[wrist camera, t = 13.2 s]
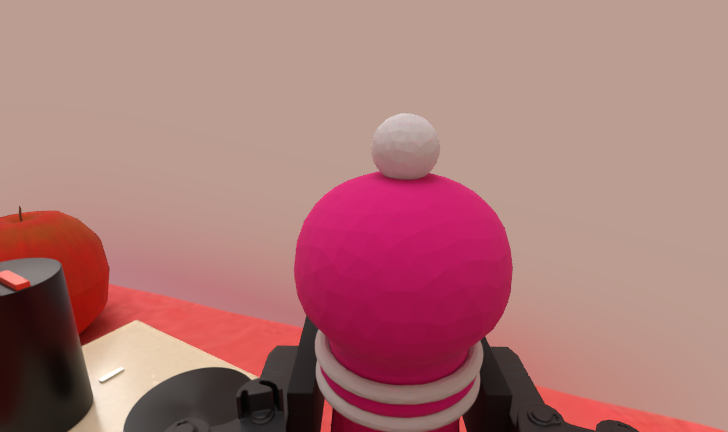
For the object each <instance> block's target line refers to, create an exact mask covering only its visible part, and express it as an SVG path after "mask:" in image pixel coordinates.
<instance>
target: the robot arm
mask: <svg viewBox="0 0 728 432" xmlns="http://www.w3.org/2000/svg"><path fill="white" fill-rule="evenodd" d="M318 330H319V329H318V328H317V327H316V326H315V325H314V324H313V323H312V321H311V320H310V319H309V318H308V316H306V320H305V324H304V328H303V331H302V335H301V339H300V343H299V346H276V347H275V348H274V349H273V350H272V351H271V352H270V353H269V355H268V357H267V360H266V363H265V366H264V368H263V371H262V374H261V377H260V378H257V379H253V380H250V381H249V382H247V383H245V384H244V385H243V386H242V387H241V388H240V389H239V390H238V392H237V395H236V402H237V411H238V418H237V419H235V420H233V421H231V422H228V423H225V424H221V425H217V426H213V427H210V426H209V424H208V422H207V421H205V420H204V419H203V418H198V417H190V418H184V419H182V420H180V421H177V422H175V423H174V424H172V425H171V426H169V427H168V428H167V429H166V430H165V431H164V432H320V430H321V422H322V415H323V407H324V400H325V397H324V396H323V394H322V392H321V391H320V389H319V386H318V382H317V379H316V363H317V357H316V353H315V339H316V335H317V332H318ZM480 341H481V344H482V348H483V362H482V365H481V368H480V371H479V373H480V387H479V392H478V395H477V398H476V400H475V401H474V403H473V404H472V406H471V407H470V408H469V410H468V411H467V412H466V413H464V414H463V415H462V416H463V420H464V423H465V427H466V430H467V432H639V431H638V430H636V429H634V428H633V427H631V426H630V425H627V424H625V423H622V422H619V421H614V420H605V421H601V422H600V423H599V424H597V427H596V431H594V430H590V429H586V428H582V427H578V426H574V425H572V424H569V423H566V422H565V421H564V419H563V417H562V416H561V415H560V414H559V413H558V412H557V411H556V410H555V409H553V408H552V407H550V406H548V405H546V404H545V403H544V401H543V400H542V398H541V396H540V394H539V393H538V391H537V389H536V387H535V385H534V384H533V382H532V380H531V378H530V376H528V373H527V371H526V369H525V368H524V367H523V364H522V362H521V361H520V359H519V357H518V355H516V354H515V353H514V352H513V351H512V350H510V349H509V348H508V347H490V346H489V344H488V342H487V340H486V338H485V337H483V338H482V339H481V340H480Z"/></svg>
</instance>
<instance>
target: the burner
mask: <svg viewBox="0 0 728 432" xmlns="http://www.w3.org/2000/svg"><path fill="white" fill-rule="evenodd" d="M250 380H251V379H250V378H249V377H248V376H247V375H245V374H243V373H242V372H239V371H237V370H234V369H230V368H224V367H206V368H199V369H194V370H190V371H186V372H183V373H180V374H178V375H175V376H173V377H170V378H168V379H167V380H165V381H163V382H161V383H159V384H158V385H156V386H155V387H153V388H152V389H150V390H149V391H148V392H147V393H145V394H144V395H143V396H142V397H141V398H140V399H139V400H138V401H137V402H136V403H135V405H134V406H133V407H132V409H131V410H130V412H129V413H128V416H127V418H126V420H125V423H124V427H123V432H164V431H165V430H166V429H167V428H168V427H169V426H171V425H172V424H174V423H175V422H177V421H180V420H182V419H184V418H190V417H198V418H203V419H204V420H205V421H207V422H208V424H209V426H210V427H213V426H217V425H221V424H225V423H228V422H231V421H233V420H235V419H237V418H238V411H237V402H236V395H237V392H238V390H239V389H240V388H241V387H242V386H243V385H244V384H245V383H247V382H249V381H250Z"/></svg>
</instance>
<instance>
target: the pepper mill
mask: <svg viewBox="0 0 728 432" xmlns="http://www.w3.org/2000/svg"><path fill="white" fill-rule="evenodd" d="M371 151H372V157H373V161H374V163H375V165H376V167H377V168H378V169H379V171H380V172H375V173H371V174H367V175H363V176H360V177H357V178H354V179H351V180H348V181H346V182H344V183H342V184H341V185H338V186H337V187H335V188H333V189H332V190H331V191H329V192H328V193H327V194H325V195H324V196H323V197H322V198H321V199H320V200H319V201H318V202H317V203H316V204H315V206H314V207H313V209H312V210H311V212H310V213H309V215H308V216H307V218H306V219H305V221H304V223H303V226H302V229H301V232H300V235H299V237H298V240H297V247H296V255H295V265H294V276H295V282H296V288H297V294H298V298H299V300H300V302H301V305H302V307H303V309H304V311H305V313H306V315H307V316H308V318H309V319H310V320H311V321H312V323H313V324H314V325H315V326H316V327H317V328H318V329H319V330H318V332H317V335H316V339H315V353H316V357H317V363H316V379H317V382H318V386H319V389H320V391H321V392H322V394H323V396H324V397H325V399H326V400H327V402H328V403H329V404H330V405H331V406H332V407H333V413H332V423H331V432H459V420H460V417H461V416H462V415H463V414H464V413H466V412H467V411H468V410H469V408H470V407H471V406H472V404H473V403H474V401H475V400H476V398H477V395H478V392H479V387H480V373H479V371H480V368H481V365H482V362H483V348H482V344H481V341H480V340H481V339H482V338H483V337H485V336H486V335H487V334H488V333H489V332H491V330H493V329H494V327H495V326H496V324H497V323H498V321H499V319H500V318H501V316H502V315H503V313H504V310H505V307H506V305H507V303H508V299H509V296H510V292H511V280H512V268H513V267H512V258H511V250H510V246H509V242H508V239H507V235H506V231H505V228H504V226H503V224H502V223H501V221H500V220H499V218H498V216H497V214H496V213H495V212H494V210H493V209H492V208H491V207H490V206H489V205H488V204H487V203H486V202H485V201H484V200H483V199H482V198H481V197H479V195H477V194H476V193H475V192H474V191H472V190H470V189H469V188H467V187H465V186H463V185H462V184H460V183H458V182H455V181H453V180H450V179H448V178H446V177H442V176H438V175H435V174H431V173H429V172H430V171H431V170H432V169H433V167H434V166H435V164H436V162H437V159H438V157H439V152H440V146H439V140H438V135H437V133H436V131H435V129H434V128H433V127H432V125H431V124H430V123H429V122H428V121H427V120H425V119H424V118H422V117H420V116H417V115H414V114H398V115H395V116H393V117H390V118H388V119H387V120H386V121H385V122H384V123H383V124H381V125H380V127H378V129H377V130H376V132H375V134H374V137H373V139H372V145H371Z"/></svg>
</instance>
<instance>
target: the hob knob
mask: <svg viewBox="0 0 728 432" xmlns="http://www.w3.org/2000/svg"><path fill="white" fill-rule="evenodd" d="M92 403H93V392H92V388H91V384H90V380H89V376H88V371H87V367H86V363H85V359H84V355H83V351H82V347H81V342H80V338H79V334H78V330H77V326H76V322H75V317H74V313H73V309H72V305H71V301H70V297H69V293H68V288H67V284H66V280H65V276H64V272H63V268H62V264H61V263H60V262H59V261H57V260H54V259H50V258H24V259H16V260H9V261H4V262H0V432H67V431H68V430H70V429H71V428H72V427H74V426H75V425H76V424H77V423H78V422H79V421H81V420H82V419H83V418H84V416H85V415H86V414H87V413H88V411H89V410H90V408H91V406H92Z"/></svg>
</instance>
